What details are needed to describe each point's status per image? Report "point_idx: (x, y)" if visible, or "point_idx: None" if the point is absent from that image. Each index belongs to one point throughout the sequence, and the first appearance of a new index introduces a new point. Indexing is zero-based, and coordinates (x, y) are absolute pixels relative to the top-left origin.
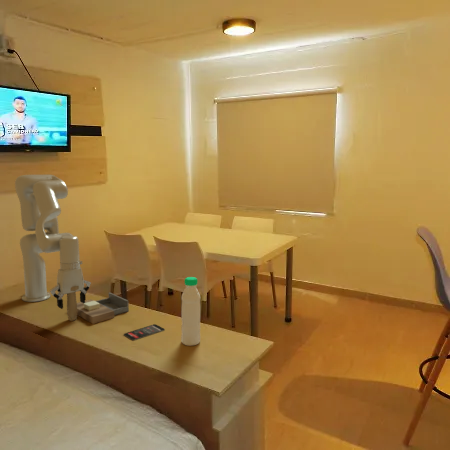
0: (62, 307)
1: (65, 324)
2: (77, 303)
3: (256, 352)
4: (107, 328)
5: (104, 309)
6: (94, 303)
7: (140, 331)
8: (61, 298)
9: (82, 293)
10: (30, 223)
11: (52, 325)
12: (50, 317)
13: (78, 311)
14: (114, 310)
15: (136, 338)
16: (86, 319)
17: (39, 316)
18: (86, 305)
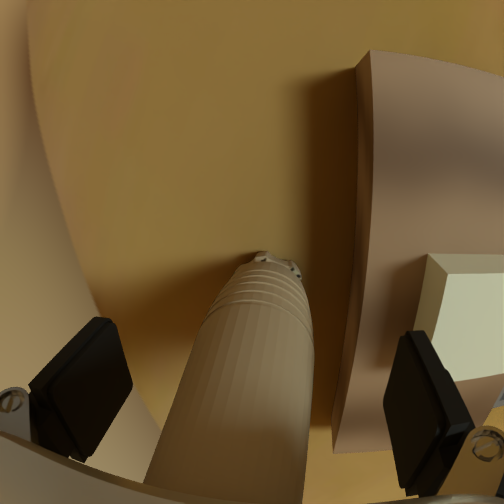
0: (122, 395)
1: (190, 322)
2: (445, 79)
3: None
4: (341, 476)
5: (476, 393)
6: (492, 349)
7: None
8: (70, 453)
9: (419, 485)
10: None
11: (115, 275)
12: (147, 101)
13: (362, 245)
14: (500, 403)
15: None
16: (342, 359)
17: (98, 36)
18: (430, 334)
